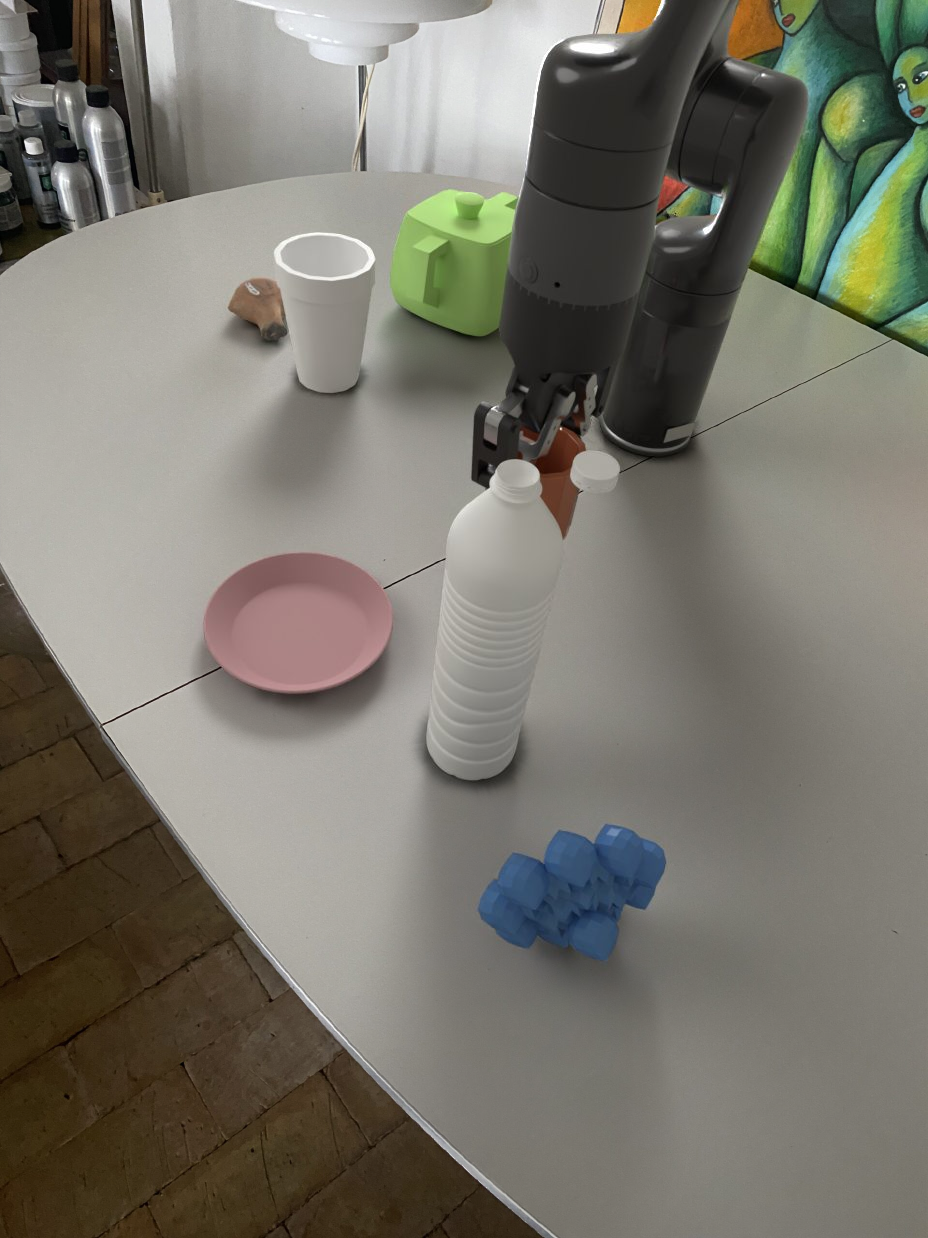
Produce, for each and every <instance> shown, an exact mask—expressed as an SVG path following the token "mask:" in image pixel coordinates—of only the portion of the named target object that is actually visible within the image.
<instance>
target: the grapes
mask: <svg viewBox="0 0 928 1238" xmlns="http://www.w3.org/2000/svg"><path fill="white" fill-rule="evenodd" d="M593 842H594V843H593ZM593 842H592V841H591V840H590V839H589V838H588V837H586V836H584V835H581V834H579V833H576V832H572V831H568V830H561V829H558V830H557V832H556V833H554V835H553V836H552V838H551V840H550V841H549V842H548V844H547V846H546V849H545V852H544V856H543V861H541V860H540V859H537V858H535V857H532V856H529V855H526V854H523V853H519V852H512V853H511V854H510V855H509V857H508V858H507V859H506V860H505V862H504V863H503V865H502V866H501V869H500V870H499V872H498V878H493V879H492V880H491V881H490V883H489V884H488V885H487V886H486V888H485V889H484V891H483V893H482V894H481V896H480V898H479V902H478V906H477V911H478V915H479V918H480V919H481V920H482V921H483V922H484V923H485V924H486V925H488V926H489V927H490V928H492V929H494V932H495V934H496V935H497V936H498V937H500V938H501V939H502V940H503V941H505V942H507V943H508V944H511V945H513V946H516V947H519V948H521V949H526V950H529V949H530V948H531V947H532V945H533V944H534V943H535V941H536V939H537V938H538V937H540V938H541V939H542V940H543V941H545V942H548V943H550V944H553V945H555V946H558V947H562V948H568V946H570V947H572V948H573V949H574V950H575V951H577V952H578V953H580V954H581V955H583V956H585V957H587V958H590V959H594V960H597V961H600V962H604V963H605V962H607V960H608V959H609V957H610V956H611V954H612V952H613V950H614V949H615V946H616V945H617V941H618V937H619V933H620V931H619V925H618V922H619V920H620V918H621V916H622V912H623V910H624V907H625V906H629V907H632V908H634V909H639V910H644V911H646V910H647V909H648V906H649V905H650V903H651V901H652V900H653V898H654V896H655V893H656V889H657V886H658V884H659V883H660V881H661V879H662V877H663V875H664V873H665V869H666V866H667V858H666V855H665V851H664V848H662V847H661V846H660V845H659V844H657V843H656V841H652V840H649V839H647V838H644V837H641V836H639V835H638V834H637V833H636V832H635V831H634V830H632V829H630V828H627V827H624V826H621V825H615V824H610V823H605V824H604V825H603V826H602V828H601V829H600V831H599V832H598V834H597V835H596V837H595V839H594V841H593Z"/></svg>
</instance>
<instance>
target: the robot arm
mask: <svg viewBox="0 0 928 1238" xmlns="http://www.w3.org/2000/svg"><path fill="white" fill-rule="evenodd" d="M740 1H741V0H661V2H660V6H659V7H658V11H657V13H656V16H655V17H654V19H653V20H652V22H651V23H650V25H649V26H646V27H645V28H643V29H640V30H635V31H630V32H620V33H589V34H581V35H575V36H570V37H567V38H564V39H562V40H560V41H558V42H557V43H555V44H554V45H553V46H551V47H550V48H549V50H548V51H547V52H546V54H545V55H544V57H543V60H542V63H541V65H540V69H539V73H538V77H537V82H536V89H535V94H534V103H533V108H532V109H533V110H532V119H531V125H530V131H529V132H530V134H529V140H528V147H527V155H526V160H525V161H526V163H525V170H524V174H523V180H522V183H521V187H520V191H519V194H518V195H519V196H518V197H519V198H518V202H517V206H516V210H515V214H514V220H513V226H512V233H511V241H510V248H509V256H508V263H507V271H506V278H505V286H504V293H503V301H502V308H501V316H500V323H499V328H498V332H499V337H500V339H501V341H502V344H503V345H504V347H505V348H506V350H507V352H508V353H509V355H510V356H511V359H512V361H513V365H514V366H513V368H512V371H511V374H510V377H509V380H508V381H507V382H508V383H507V385H506V388H505V393H504V394H505V398H503V400H501V401H500V402H499V403H498V404H496V405H495V406H494V405H492V404H490V403H488V402H486V401H482V402H481V403H479V404H478V405H477V407H476V408H475V411H474V413H473V429H472V430H473V432H472V453H471V471H470V473H471V477H470V479H471V481H472V482H474V483H476V484H478V485H479V486H481V487H483V488H487V489H489V488H490V479H491V477H492V476H493V475H494V474H495V471H496V469H497V467H498V466H499V465H500V464H501V463H502V462H504V461H507V460H512V459H517V455H518V451H519V452H521V453H522V455H523V459H522V460H523V461H527V462H529V463H531V464H533V465H534V466H535V464H536V461H537V460H538V459H539V458H544V457H546V456H547V454H548V452H549V450H550V447H551V445H552V442H553V440H554V438H555V435H556V433H557V430H558V428H559V426H560V425H561V426H563V427H565V428H567V429H569V430H571V431H573V432H574V433H575V434H576V435H577V436H578V437H579V438H580V439H581V440H582V437H584V436H586V435H587V433H588V432H589V431H590V429H591V425H592V418H591V417H592V416H593V417H595V418H600V419H599V425H600V428H601V431H602V433H603V434H604V435H605V437H606V438H607V439H608V440H610V441H611V442H612V443H613V444H615V445H616V446H618V447H619V448H621V449H623V450H626V451H627V452H630V453H634V454H637V455H640V456H641V455H642V456H646V457H647V456H648V457H665V456H666V457H667V456H672V455H675V454H677V453H679V452H681V451H683V450H684V449H685V448H686V447H687V446H688V445H689V443H690V440H691V437H692V434H693V431H694V428H695V426H696V423H697V422H696V419H697V417H698V414H699V411H700V408H701V405H702V403H703V401H704V397H705V394H706V391H707V389H708V385H709V383H710V380H711V377H712V374H713V371H714V368H715V365H716V362H717V360H718V357H719V354H720V351H721V348H722V345H723V342H724V339H725V336H726V333H727V332H728V327H729V325H730V322H731V318H732V317H733V313H734V310H735V307H736V304H737V301H738V299H739V295H740V293H741V289H742V287H743V285H744V282H745V279H746V275H747V273H748V270H749V267H750V265H751V262H752V260H753V258H754V256H755V253H756V251H757V249H758V246H759V243H760V241H761V238H762V237H763V235H764V231H765V228H766V225H767V222H768V220H769V217H770V215H771V212H772V209H773V207H774V204H775V201H776V199H777V196H778V194H779V192H780V189H781V187H782V185H783V183H784V179H785V177H786V175H787V172H788V171H789V168H790V165H791V163H792V160H793V158H794V155H795V152H796V150H797V147H798V145H799V142H800V139H801V137H802V134H803V130H804V127H805V124H806V120H807V116H808V110H809V90H808V87H807V85H806V84H805V83H804V81H802V80H801V79H800V78H798V77H796V76H794V75H791V74H787V73H785V72H782V71H778V70H775V69H772V68H769V67H766V66H762V65H759V64H757V63H756V64H755V63H753V62H750V61H746V60H743V59H740V58H737V57H734V56H731V55H730V53H729V48H728V47H729V37H730V33H731V28H732V25H733V21H734V18H735V15H736V12H737V10H738V6H739V4H740ZM665 177H667V178H669V179H671V180H673V181H675V182H677V183H680V184H682V185H684V186H685V185H686V186H687V187H690V188H692V189H695V190H698V191H700V192H703V193H706V194H709V195H711V196H714V197H717V198H719V199H721V202H720V206H719V209H718V212H717V213H714V214H708V215H684V216H678V215H677V216H676V215H674V214H670V216H669V214H668V213H667V211H666V210H664V212H663V214H662V215H663V216H664V217H667V218H668V217H669V218H668V219H664V220H662V221H660V222H658V223H657V214H658V207H659V202H660V196H661V192H662V188H663V184H664V180H665ZM596 387H597V389H596V392H595V388H596ZM520 425H521V426H522V427H524V428H526V429H528V430H530V431H532V432H534V433H537V434H540V435H539V438H538V440H537V441H536V442H534V441H532V440H530V439H529V438H527V437H525V436H523V431H522V430H520Z"/></svg>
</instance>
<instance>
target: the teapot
mask: <svg viewBox="0 0 928 1238" xmlns="http://www.w3.org/2000/svg"><path fill="white" fill-rule="evenodd" d="M518 198H519V196H516V195H514V194H511V193H509V192H506V191H501V192H500V193H497V194H496V195H494V196H492V197H491V198H485V197H483V196H482V195H481V194H479V193H476V192H471V191H461V190H457V189H452V188H451V189H449V188H448V189H445V190H442V191H440V192H438V193H436V194H433V195H432V196H430V197H428V198H426V199H425V200H423V201H421V202H419V203H418V204H416V205H414V206H413V207H412V208H410V209H408V211H406V213H405V214H404V217H403V219H402V222H401V225H400V228H399V231H398V234H397V237H396V241H395V245H394V249H393V253H392V257H391V264H390V275H389V284H390V285H389V287H390V289H391V293H392V296H393V298H394V300H395V302H396V303H397V304H398V305H399V306H401V307H402V308H404V309H405V310H407V311H408V312H410V313H413V314H414V315H416V316H418V317H420V318H422V319H424V320H426V321H428V322H430V323H433V324H436V325H438V326H441V327H444V328H446V329H449V330H453V331H455V332H459V333H461V334H462V335H463V334H464V335H469V336H474V337H484V336H487V335H489V334H491V333H492V332H495V331H496V330H497V329H499V323H500V316H501V308H502V301H503V293H504V286H505V278H506V271H507V263H508V256H509V248H510V241H511V233H512V226H513V220H514V214H515V210H516V206H517V202H518Z"/></svg>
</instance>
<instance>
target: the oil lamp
mask: <svg viewBox="0 0 928 1238" xmlns="http://www.w3.org/2000/svg"><path fill="white" fill-rule="evenodd" d="M227 310H228V311H229V312H230V313H233V314H235V315H236V316H238V317H239V318H241V319H243V320H245V321H248V322H250V323H252V324H254V325H257V327H258V328H259V330H260V337H261V338H262V339H264V340H266V341H268V342H274V341H277V340H280V339H282V338H284V337H286V336H287V335H288V328H287V327H286V326H285V324H284V321H283V319H284V318H286V315H285V310H284V305H283V300H282V296H281V291H280V288H279V287H278V285H277V281H276V280H274V279H271V278H267V277H253V278H249V279H246V280H244V281H243V282H241V284H239V285H238V286H237V287H236V289H235V290H234V293H233V295H232V297H231V299H230V301H229V303H228V306H227Z"/></svg>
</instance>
